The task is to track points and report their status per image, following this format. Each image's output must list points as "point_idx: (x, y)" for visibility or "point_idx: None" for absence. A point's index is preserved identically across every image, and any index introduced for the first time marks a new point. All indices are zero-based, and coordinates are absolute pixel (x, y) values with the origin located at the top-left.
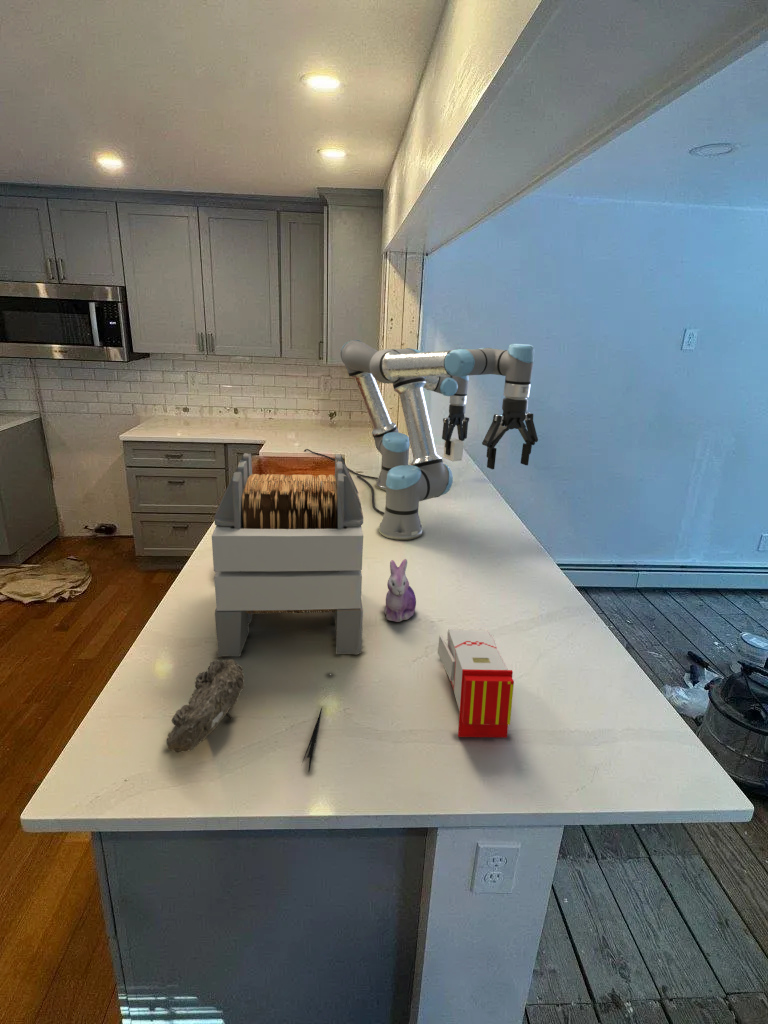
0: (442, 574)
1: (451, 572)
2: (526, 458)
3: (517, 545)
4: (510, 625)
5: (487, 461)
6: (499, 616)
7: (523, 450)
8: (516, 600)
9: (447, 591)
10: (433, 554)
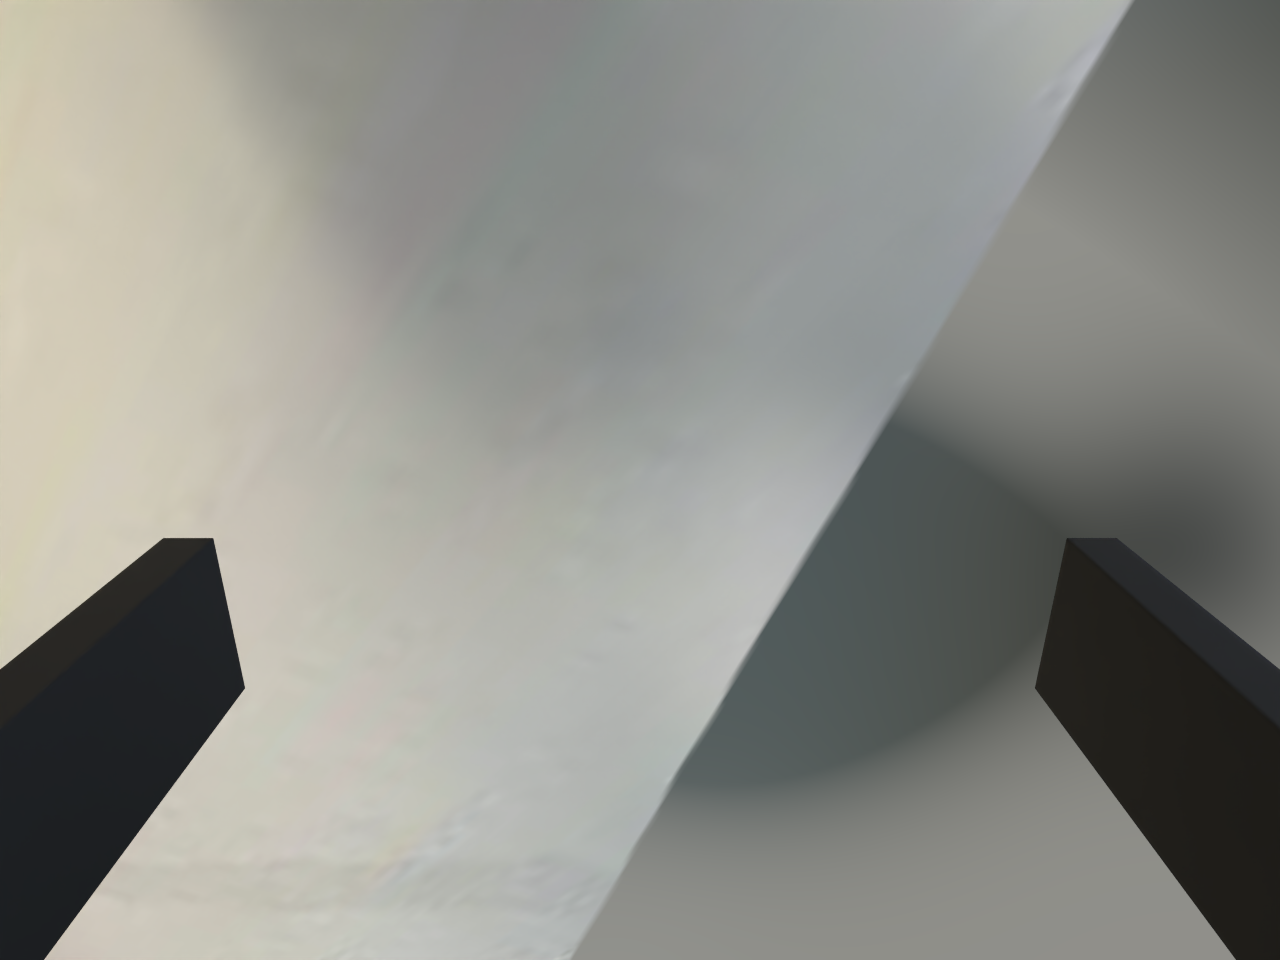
0: (147, 411)
1: (210, 410)
2: (1108, 770)
3: (869, 245)
4: (244, 870)
5: (88, 603)
6: (236, 814)
7: (1259, 772)
8: (384, 752)
9: (98, 576)
10: (204, 129)
